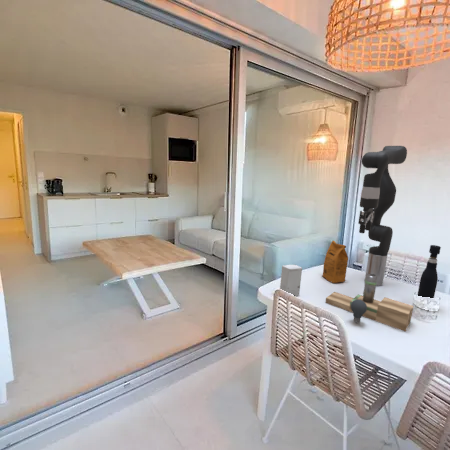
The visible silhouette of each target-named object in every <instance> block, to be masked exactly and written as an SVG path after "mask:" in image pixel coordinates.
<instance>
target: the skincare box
mask: <svg viewBox="0 0 450 450" xmlns="http://www.w3.org/2000/svg"><path fill="white" fill-rule="evenodd" d="M302 273H303V267H301V266H300V265H297V264H286V265H285V264H284V265H281V273H280V274H281V275H280V285H279V290H280V289H282V290H284V291H286V292H288V293H291V294H293V295H295V296H294V297H299V296H300V291H301V281H302Z"/></svg>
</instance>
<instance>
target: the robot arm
mask: <svg viewBox="0 0 450 450" xmlns="http://www.w3.org/2000/svg"><path fill="white" fill-rule="evenodd" d="M407 155H408V149H407V147H406V146H405V145H385V146H384V147H383V148H382V150H379V151H368V152H366V153H364V155H363V156H362V157H361V164H362V167H364V168H366V169H376V170H375V172H371V173H366V174H365V175H364V177H363V184H362V189H361V193H360V199H359V207H360V208H363V209H362V210H360V211H359V215H358V225H359V230H358V231H359V232H358V233H359V234H365V233H366V231H368V239H369V240H370V241H375V242H378V245H376V246H370V247H369V250H368V256H367V261H366V262H367V263H366V269H365V270H366V271H365V275H364V280H365V279H366V274H374V275H376V276H377V284H376V286H378V287H380V286H383V284H384V280H385V273H386V268H387V267H386V266H387V261H388V254H389V251H390V248H391V243H392V239H393V228H392V227H390V226H387V225H382V224H381V223H382V218H383V216H384V215H385V214H386V213H387V211H388V210H389V209H390V208H391V207H392V206H393V205H394V203H395V199H396V194H397V187H396V185H395V183H394V181H393V179H392V177H391V174H390V172H389V165H399V164H404V162H405V161H406V159H407Z"/></svg>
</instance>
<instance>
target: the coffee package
mask: <svg viewBox="0 0 450 450" xmlns="http://www.w3.org/2000/svg"><path fill="white" fill-rule="evenodd" d="M346 248H347V246H346V245H344V244H340V243H337V242H336V241H335V240H332V241H331V242H330V245H329V247H328V249H327V251H326V254H325V258H324V262H323V271H322V277H323V278H324V279H326V281H328V282H330V283H332V284H336V283H343V282H345V281H346V276H347V269H348V268H347V267H348V262H349V257H348V256H349V255H348V253H347V251H346Z"/></svg>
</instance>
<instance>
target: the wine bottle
mask: <svg viewBox="0 0 450 450" xmlns="http://www.w3.org/2000/svg"><path fill="white" fill-rule="evenodd" d="M441 248H442V247H441V246H439V245H436V244H431V245H430V246H429V250H428V252H429V253H430V255H429V258H428V260H427V262H426V267H425V268H424V270H423V271H422V274H421V275H420V280H419V285H418V291H417V295H418V296H422V297H430V298H434V299H435V294H436V291H437V290H436V289H437V285H438V271H437V267H438V255H440V252H441Z"/></svg>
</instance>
